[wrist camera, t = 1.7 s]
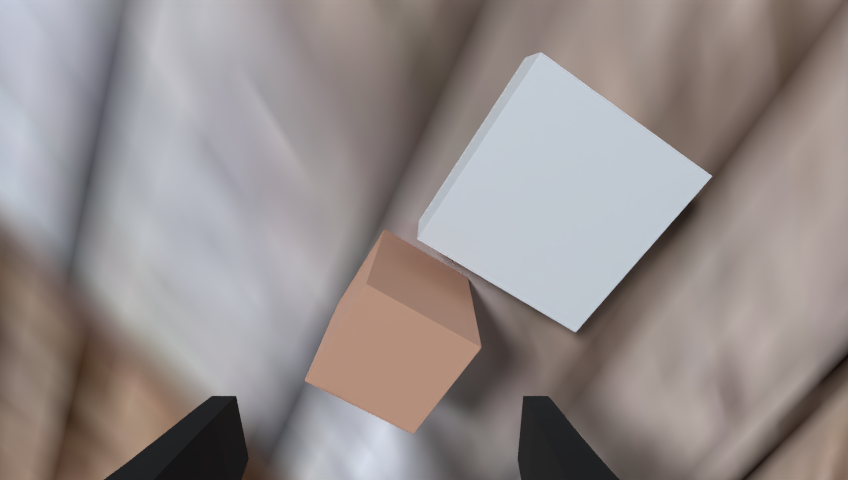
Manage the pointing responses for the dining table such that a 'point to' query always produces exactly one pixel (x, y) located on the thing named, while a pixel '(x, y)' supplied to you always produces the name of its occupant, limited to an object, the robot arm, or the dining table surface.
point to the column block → (398, 335)
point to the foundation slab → (558, 194)
